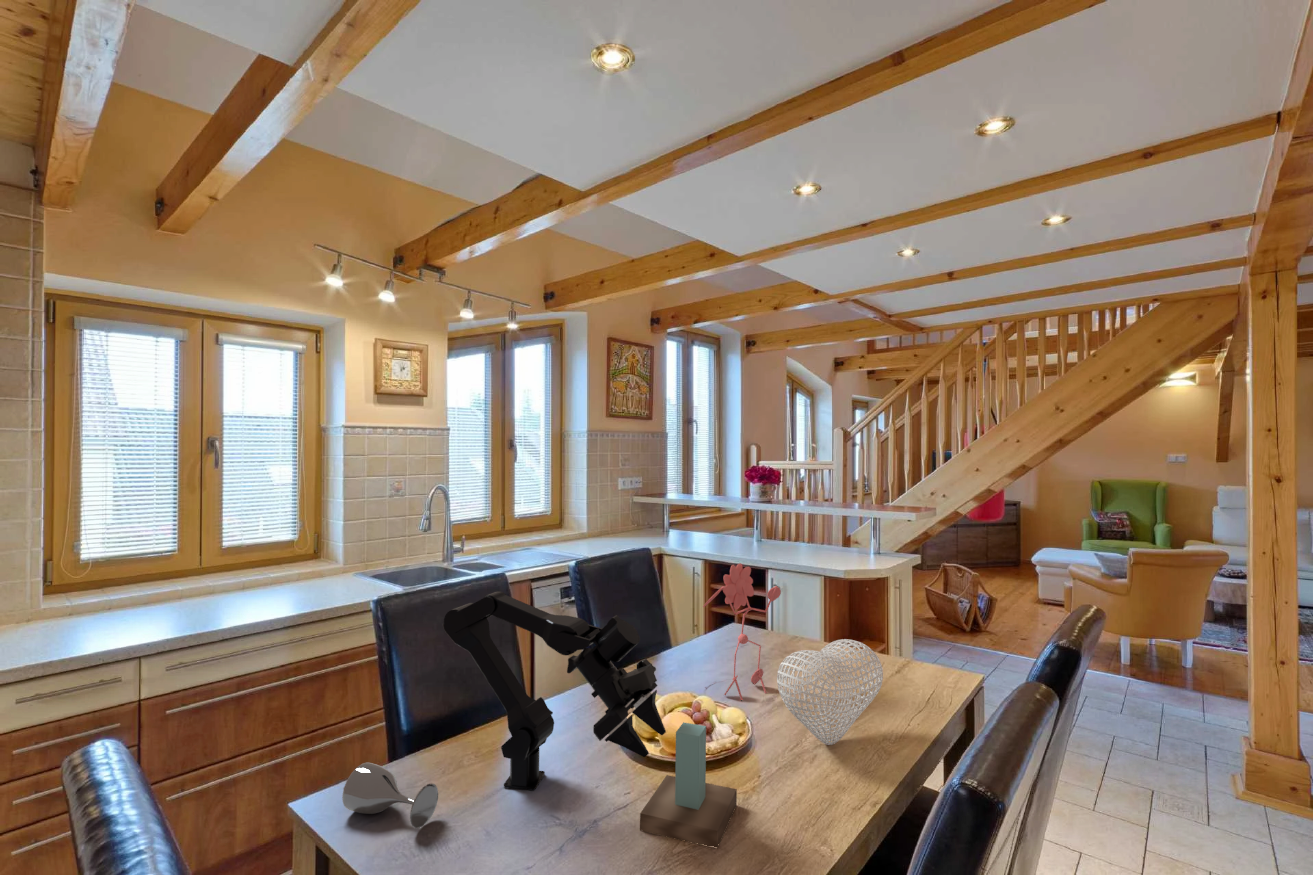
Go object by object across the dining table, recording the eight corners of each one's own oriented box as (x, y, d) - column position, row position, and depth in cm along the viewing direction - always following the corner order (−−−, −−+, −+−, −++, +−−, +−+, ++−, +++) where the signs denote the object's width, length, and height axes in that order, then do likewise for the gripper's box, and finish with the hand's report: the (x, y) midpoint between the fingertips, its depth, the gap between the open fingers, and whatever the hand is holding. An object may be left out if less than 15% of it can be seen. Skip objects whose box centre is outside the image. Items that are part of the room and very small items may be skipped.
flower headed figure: (789, 687, 180) (787, 562, 181) (722, 710, 164) (720, 572, 165) (749, 672, 192) (748, 555, 193) (683, 692, 176) (682, 564, 177)
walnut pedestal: (639, 830, 112) (640, 813, 112) (666, 790, 126) (666, 775, 126) (717, 848, 108) (717, 831, 108) (736, 805, 121) (736, 789, 121)
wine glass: (437, 770, 116) (373, 753, 121) (405, 803, 109) (339, 782, 114) (442, 808, 118) (378, 788, 123) (411, 842, 110) (345, 820, 116)
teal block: (675, 804, 115) (675, 732, 115) (682, 792, 119) (683, 722, 120) (698, 809, 114) (699, 736, 114) (705, 797, 118) (706, 726, 118)
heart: (840, 717, 160) (840, 628, 161) (895, 740, 148) (896, 644, 148) (762, 748, 144) (763, 648, 144) (817, 777, 131) (818, 668, 131)
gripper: (610, 666, 112) (668, 740, 108) (648, 636, 130) (700, 699, 126) (569, 704, 115) (625, 778, 111) (612, 670, 132) (661, 733, 128)
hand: (655, 744), depth 119 cm, fingers open, 9 cm apart
